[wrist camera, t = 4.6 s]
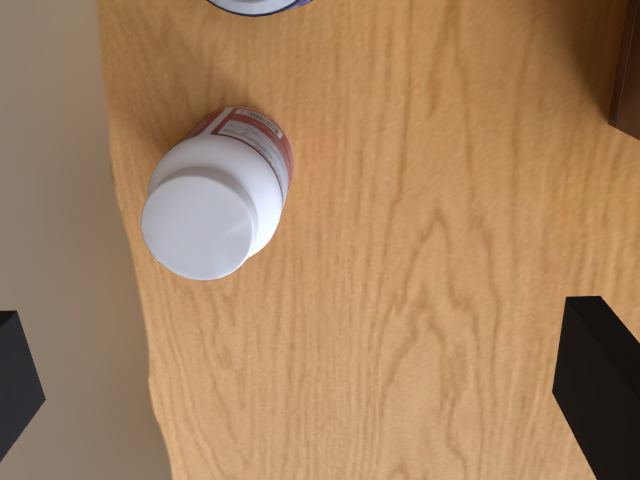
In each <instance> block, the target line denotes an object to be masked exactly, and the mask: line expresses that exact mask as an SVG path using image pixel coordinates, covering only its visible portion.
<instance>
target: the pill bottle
mask: <svg viewBox="0 0 640 480" xmlns="http://www.w3.org/2000/svg"><path fill="white" fill-rule="evenodd" d="M293 169H294V154H293V149H292V145H291V142H290V140H289V138H288V136H287V134H286V133H285V131H284V130H283V128H282V127H281V126H280V125H279V124H278V123H277V122H276V121H275V120H274V119H273V118H272V117H270V116H269V115H267V114H266V113H264V112H262V111H259V110H257V109H254V108H250V107H243V106H233V107H227V108H223V109H220V110H218V111H216V112H214V113H212V114H210V115H209V116H207V117H206V118H205V119H203V120H202V121H201V122H200V123H199V124H198V125H197V126H196V127H195V128H194V129H193V130H191V131H190V132H189V133H188V134H187V135H186V136H185V137H184V138H183V139H182V140H180V141H179V142H178V143H177V144H176V145H175V146H174V147H173V148H171V149H170V150H169V151H168V152H167V153H166V154H165V155H164V157H163V158H162V159H161V160H160V162H159V163H158V164H157V166H156V168H155V169H154V171H153V174H152V176H151V179H150V182H149V187H148V199H147V201H146V202H145V205H144V207H143V211H142V216H141V229H142V235H143V238H144V241H145V243H146V245H147V247H148V249H149V250H150V252H151V253H152V255H153V256H154V257H155V259H156V260H157V261H158V262H159V263H161V264H162V265H163V266H164V267H166V268H167V269H168V270H170V271H172V272H174V273H176V274H178V275H180V276H183V277H186V278H189V279H195V280H212V279H217V278H221V277H223V276H226V275H228V274H230V273H232V272H233V271H235V270H236V269H237V268H239V267H240V266H241V265H242V264H243V262H244V261H245V260H246V259H247V258H249V257H250V256H252V255H254V254H255V253H257V252H258V251H259V250H261V249H262V248H263V247H264V246H265V245H266V244H267V242H268V241H269V240H270V239H271V237H272V236H273V234H274V232H275V230H276V228H277V225H278V223H279V220H280V217H281V213H282V210H283V206H284V203H285V199H286V196H287V192H288V189H289V185H290V182H291V179H292V175H293Z"/></svg>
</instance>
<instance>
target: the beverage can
mask: <svg viewBox="0 0 640 480" xmlns="http://www.w3.org/2000/svg"><path fill="white" fill-rule="evenodd" d="M207 1H208V2H210V3H211V4H213V5H214V6H216V7H218V8H220V9H222V10H224V11H227V12H230V13H233V14H236V15H241V16H250V17H258V16H267V15H272V14H275V13H279V12H282V11H285V10H289V9H292V8H296V7H299V6H302V5H305V4H307V3H309V2H310V1H312V0H207Z"/></svg>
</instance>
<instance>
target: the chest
mask: <svg viewBox="0 0 640 480" xmlns="http://www.w3.org/2000/svg"><path fill="white" fill-rule="evenodd" d="M608 124H609V125H611V126H613V127H615V128H617V129H619V130H620V131H622V132H624V133H626V134H628V135H630V136H632V137H634V138H636V139H638V140H640V0H629V3H628V9H627V15H626V21H625V27H624V33H623V38H622V44H621V50H620V56H619V62H618V68H617V74H616V79H615V85H614V91H613V97H612V103H611V109H610V114H609V120H608Z"/></svg>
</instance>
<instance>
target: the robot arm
mask: <svg viewBox="0 0 640 480" xmlns="http://www.w3.org/2000/svg"><path fill="white" fill-rule="evenodd" d="M552 393H553V395H554V397H555V399H556V401H557V403H558V405H559V407H560V409H561V411H562V413H563V415H564V416H565V418H566V420H567V422H568V424H569V426H570V428H571V430H572V432H573V434H574V436H575V438H576V440H577V442H578V444H579V446H580V448H581V450H582V452H583V454H584V456H585V458H586V460H587V461H588V463H589V465H590V467H591V469H592V471H593V473H594V475H595V477H596V479H597V480H640V343H639V342H638V341H637V340H636V338H635V337H634V336H633V335H632V334H631V332H630V331H629V330H628V329H627V328H626V326H625V325H624V324H623V323H622V321H621V320H620V319H619V318H618V317H617V315H616V314H615V313H614V312H613V311H612V309H611V308H610V307H609V306H608V305H607V303H606V302H605V301H604V300H603V299H602V297H601V296H577V297H566V301H565V308H564V315H563V322H562V328H561V335H560V342H559V349H558V355H557V362H556V369H555V376H554V383H553V389H552ZM45 400H46V399H45V396H44V393H43V390H42V387H41V384H40V380H39V377H38V374H37V371H36V368H35V365H34V362H33V359H32V356H31V353H30V350H29V346H28V343H27V340H26V337H25V334H24V331H23V328H22V325H21V322H20V319H19V316H18V313H17V311H0V462H1V461H2V459H3V458H4V456H5V455H6V454H7V452H8V451H9V449H10V448H11V447H12V445H13V444H14V443H15V441H16V440H17V439H18V437H19V436H20V434H21V433H22V432H23V430H24V429H25V427H26V426H27V425H28V423H29V422H30V421H31V419H32V418H33V417H34V415H35V414H36V412H37V411H38V410H39V408H40V407H41V405H42V404H43V403H44V401H45Z"/></svg>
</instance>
